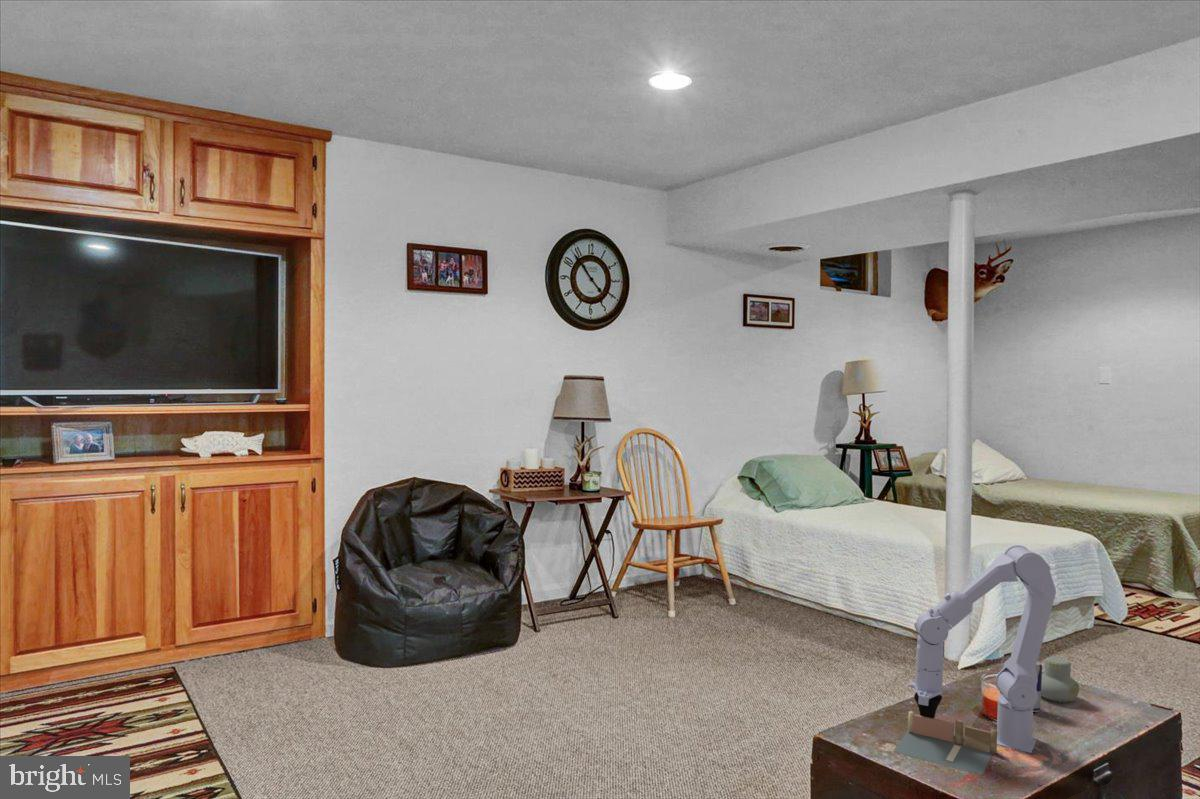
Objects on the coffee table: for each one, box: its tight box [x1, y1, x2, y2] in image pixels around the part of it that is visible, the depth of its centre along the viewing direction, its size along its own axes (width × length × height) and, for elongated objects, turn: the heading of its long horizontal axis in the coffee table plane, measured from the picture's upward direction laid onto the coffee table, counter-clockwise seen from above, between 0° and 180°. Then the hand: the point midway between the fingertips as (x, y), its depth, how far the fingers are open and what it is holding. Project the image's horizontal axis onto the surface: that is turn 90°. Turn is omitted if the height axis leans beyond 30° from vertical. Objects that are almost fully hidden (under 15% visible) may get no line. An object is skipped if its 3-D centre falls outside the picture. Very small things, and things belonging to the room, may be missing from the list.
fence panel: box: [907, 710, 955, 742], centre depth 191 cm, size 10×1×4 cm, turn 57°
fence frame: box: [954, 719, 998, 755], centre depth 186 cm, size 2×8×5 cm, turn 57°
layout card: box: [892, 731, 993, 776], centre depth 185 cm, size 15×18×1 cm
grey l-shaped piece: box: [1041, 656, 1080, 703], centre depth 219 cm, size 11×8×10 cm
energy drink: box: [1033, 660, 1043, 712], centre depth 211 cm, size 5×5×12 cm
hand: (926, 726), depth 193 cm, fingers closed
